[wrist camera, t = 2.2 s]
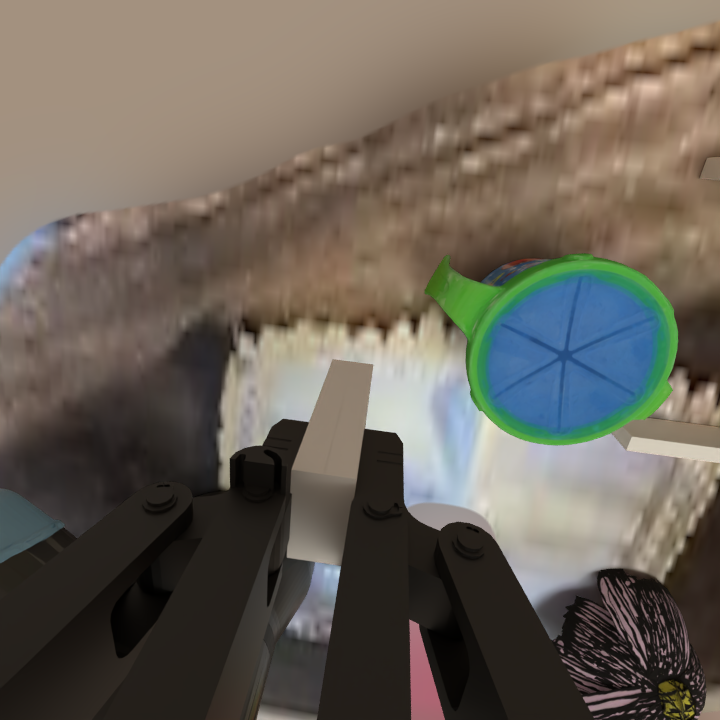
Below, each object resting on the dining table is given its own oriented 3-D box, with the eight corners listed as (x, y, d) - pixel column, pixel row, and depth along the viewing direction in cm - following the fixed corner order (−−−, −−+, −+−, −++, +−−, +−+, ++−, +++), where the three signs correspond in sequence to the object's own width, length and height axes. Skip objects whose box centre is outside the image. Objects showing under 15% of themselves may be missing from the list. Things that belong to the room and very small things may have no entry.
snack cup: (654, 310, 31) (765, 365, 22) (550, 414, 35) (607, 499, 25) (482, 181, 29) (523, 181, 19) (391, 308, 32) (389, 359, 23)
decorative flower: (812, 740, 33) (654, 857, 33) (695, 642, 44) (578, 728, 44) (695, 585, 33) (538, 701, 33) (609, 528, 45) (493, 614, 45)
